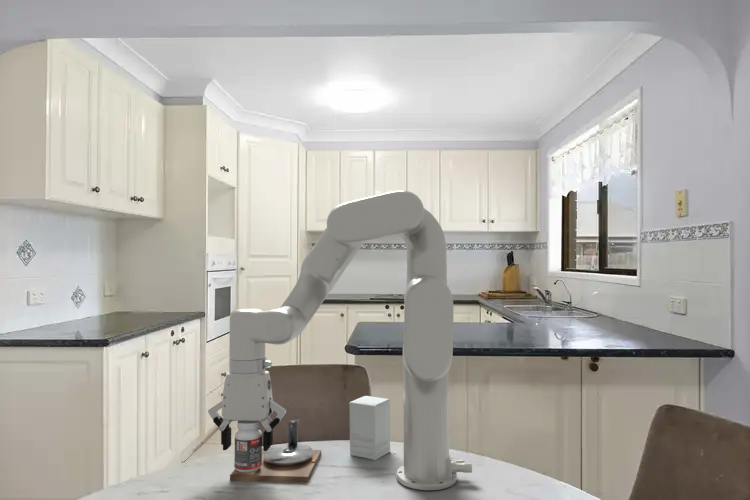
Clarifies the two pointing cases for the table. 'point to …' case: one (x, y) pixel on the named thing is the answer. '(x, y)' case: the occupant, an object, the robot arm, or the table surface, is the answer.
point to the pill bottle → (248, 446)
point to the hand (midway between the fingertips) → (246, 448)
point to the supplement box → (369, 427)
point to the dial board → (280, 471)
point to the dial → (289, 449)
